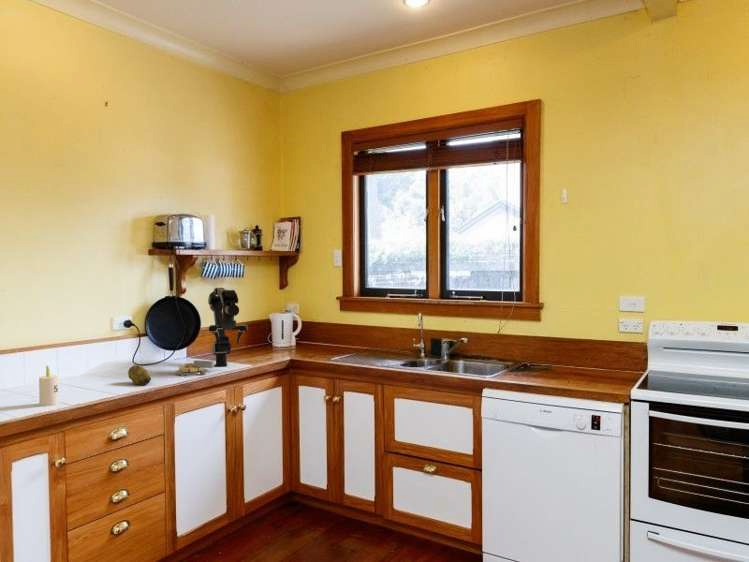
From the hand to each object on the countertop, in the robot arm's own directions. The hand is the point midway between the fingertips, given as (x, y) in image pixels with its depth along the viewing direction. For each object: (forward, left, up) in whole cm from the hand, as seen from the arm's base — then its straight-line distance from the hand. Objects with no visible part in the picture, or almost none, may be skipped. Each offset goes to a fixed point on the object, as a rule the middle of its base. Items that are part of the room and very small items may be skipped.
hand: (228, 344), depth 290 cm
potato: (+28, -37, -13) cm, 48 cm away
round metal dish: (+5, -18, -13) cm, 22 cm away
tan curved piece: (+7, -15, -11) cm, 20 cm away
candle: (+62, -62, -13) cm, 89 cm away
